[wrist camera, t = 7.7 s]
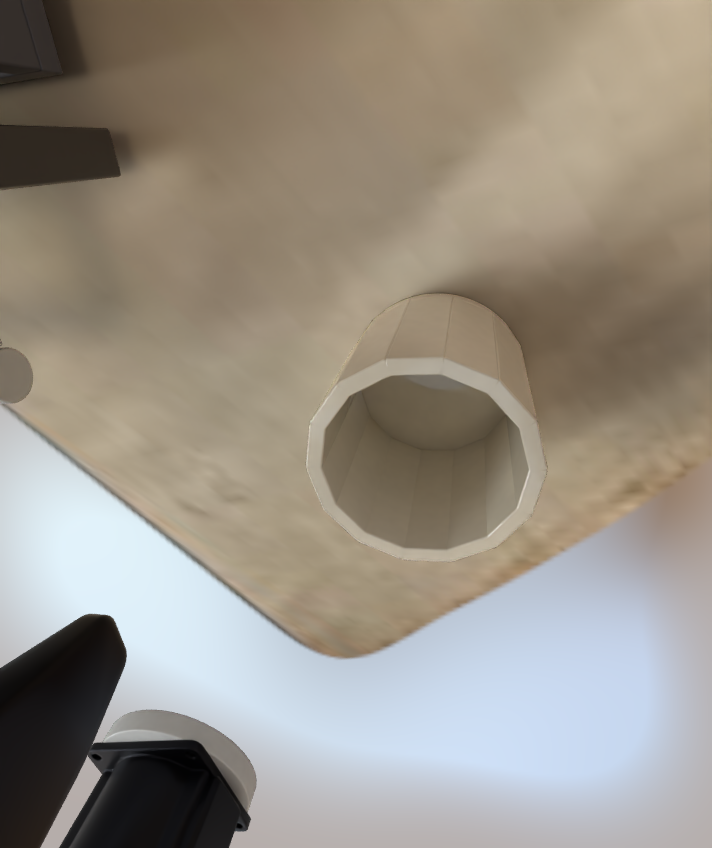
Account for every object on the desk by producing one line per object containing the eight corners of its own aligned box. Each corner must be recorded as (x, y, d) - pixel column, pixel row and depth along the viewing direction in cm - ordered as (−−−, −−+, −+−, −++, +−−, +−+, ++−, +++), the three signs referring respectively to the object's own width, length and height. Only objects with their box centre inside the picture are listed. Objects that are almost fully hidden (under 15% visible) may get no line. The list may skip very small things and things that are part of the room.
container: (381, 466, 19) (350, 575, 14) (328, 318, 17) (271, 388, 12) (540, 436, 18) (565, 547, 13) (503, 267, 15) (516, 325, 11)
